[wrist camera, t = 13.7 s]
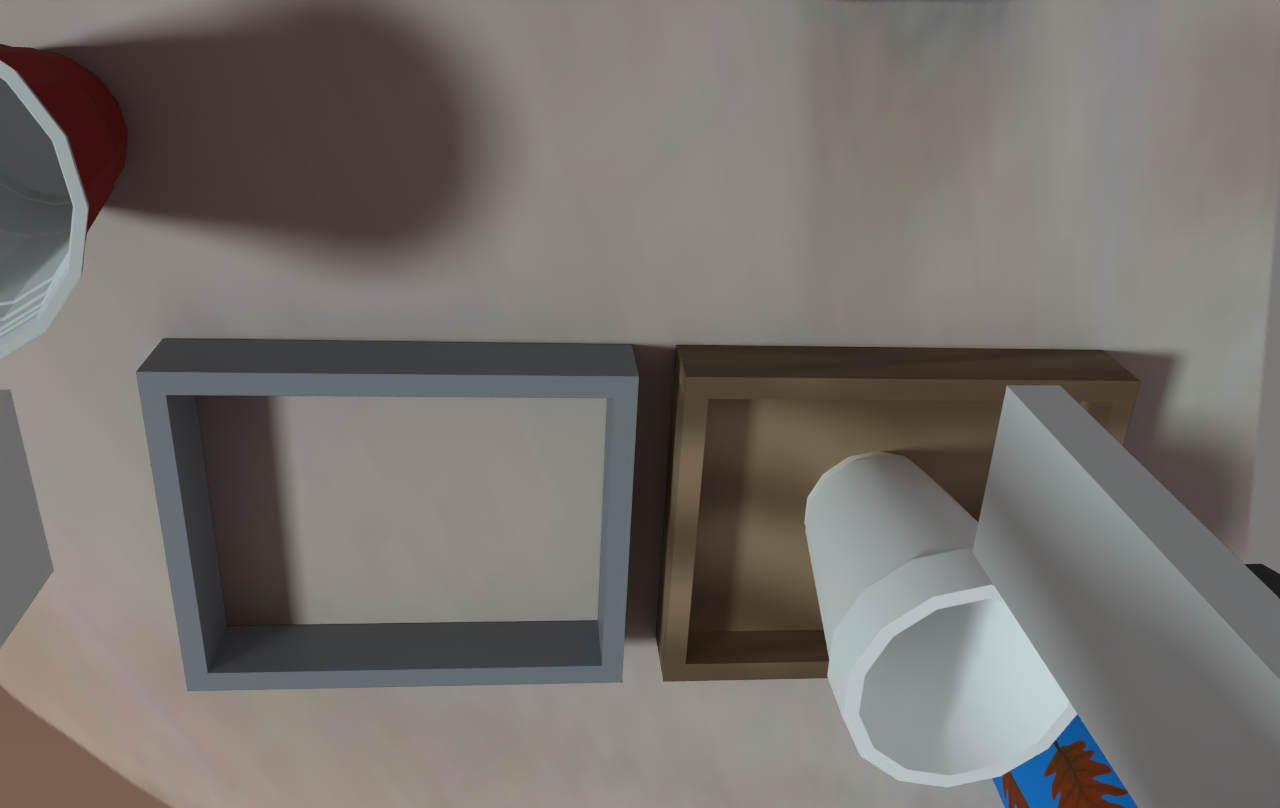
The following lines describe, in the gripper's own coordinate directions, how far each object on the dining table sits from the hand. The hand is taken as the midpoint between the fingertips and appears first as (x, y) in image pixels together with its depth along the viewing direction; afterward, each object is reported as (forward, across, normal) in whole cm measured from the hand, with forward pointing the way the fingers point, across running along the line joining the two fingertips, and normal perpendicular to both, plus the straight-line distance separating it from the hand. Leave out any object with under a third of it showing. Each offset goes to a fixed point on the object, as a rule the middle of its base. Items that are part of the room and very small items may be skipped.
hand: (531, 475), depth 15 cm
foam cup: (+30, +16, -19) cm, 39 cm away
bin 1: (+31, -6, -19) cm, 37 cm away
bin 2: (+31, +16, -20) cm, 40 cm away
